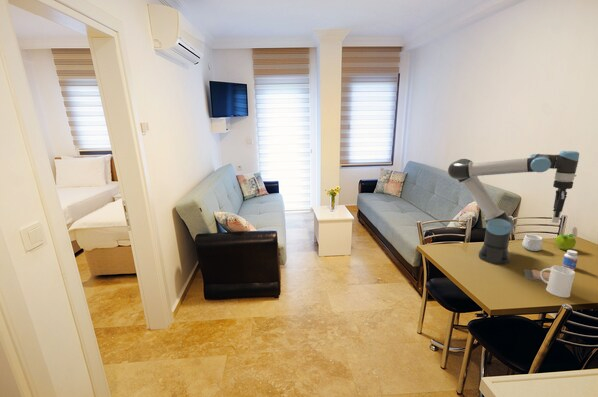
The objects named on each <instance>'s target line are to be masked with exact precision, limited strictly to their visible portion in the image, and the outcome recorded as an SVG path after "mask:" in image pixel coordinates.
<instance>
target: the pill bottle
mask: <svg viewBox="0 0 598 397" xmlns="http://www.w3.org/2000/svg"><path fill="white" fill-rule="evenodd" d="M578 258H579V256H578V251H577V250H573V249H570V250H566V253H564V255H563V259H562V264H561V266H563V267H567V268H569V269H572V270H573V271H575V270H576V267H577V265H578Z"/></svg>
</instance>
